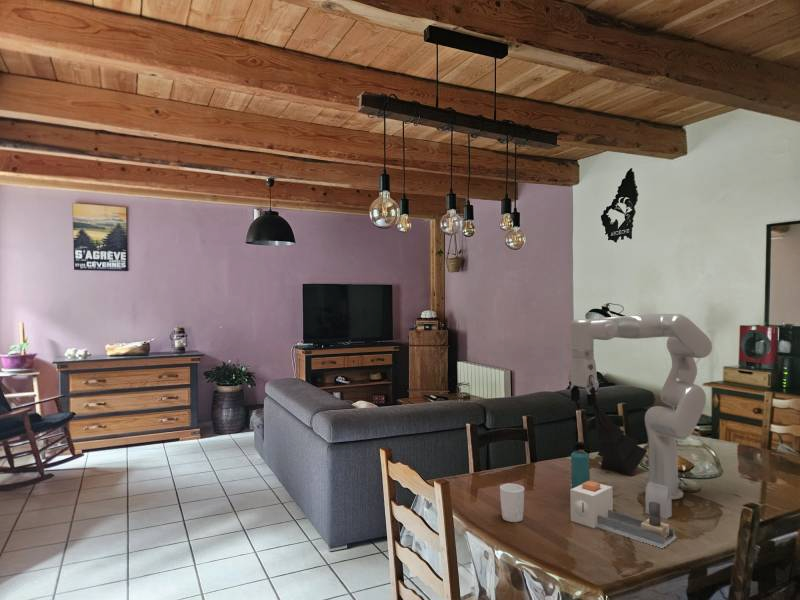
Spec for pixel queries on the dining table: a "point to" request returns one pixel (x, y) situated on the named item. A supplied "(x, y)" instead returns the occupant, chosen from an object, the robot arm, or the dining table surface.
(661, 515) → the light grey block
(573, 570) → the dining table surface
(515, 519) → the white cup
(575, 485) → the beverage bottle
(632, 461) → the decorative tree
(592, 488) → the button
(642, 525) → the carriage
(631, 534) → the rail
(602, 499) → the gauge cabinet
